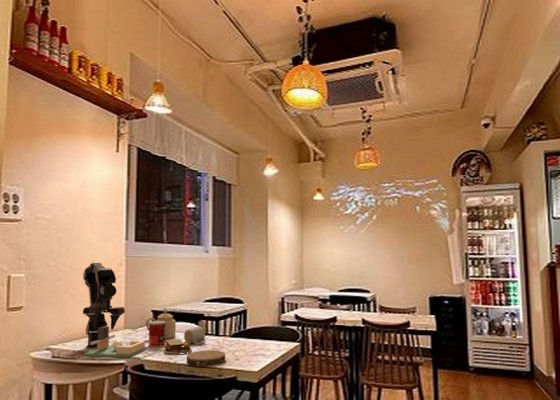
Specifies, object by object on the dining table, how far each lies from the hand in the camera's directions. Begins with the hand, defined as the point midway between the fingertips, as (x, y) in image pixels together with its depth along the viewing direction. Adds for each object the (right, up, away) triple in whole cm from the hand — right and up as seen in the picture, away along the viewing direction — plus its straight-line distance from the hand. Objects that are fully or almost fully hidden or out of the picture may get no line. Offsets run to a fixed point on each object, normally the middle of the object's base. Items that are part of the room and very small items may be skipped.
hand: (103, 329), depth 210 cm
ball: (+7, -7, -2) cm, 10 cm away
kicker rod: (0, -9, -1) cm, 9 cm away
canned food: (+22, -11, +12) cm, 27 cm away
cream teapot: (+20, -13, +30) cm, 39 cm away
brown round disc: (+52, -8, -22) cm, 57 cm away
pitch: (+7, -10, -3) cm, 12 cm away
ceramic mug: (+41, -11, +14) cm, 45 cm away
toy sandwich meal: (+35, -10, -4) cm, 37 cm away
